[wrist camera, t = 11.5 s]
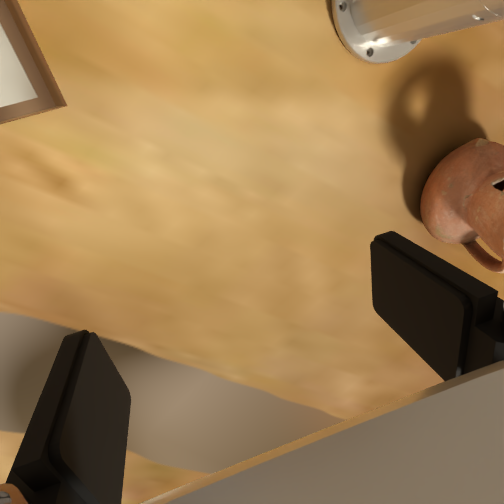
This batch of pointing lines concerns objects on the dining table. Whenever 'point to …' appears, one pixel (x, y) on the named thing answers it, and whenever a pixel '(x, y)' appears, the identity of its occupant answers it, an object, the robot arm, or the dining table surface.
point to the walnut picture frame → (23, 69)
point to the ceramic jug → (468, 200)
